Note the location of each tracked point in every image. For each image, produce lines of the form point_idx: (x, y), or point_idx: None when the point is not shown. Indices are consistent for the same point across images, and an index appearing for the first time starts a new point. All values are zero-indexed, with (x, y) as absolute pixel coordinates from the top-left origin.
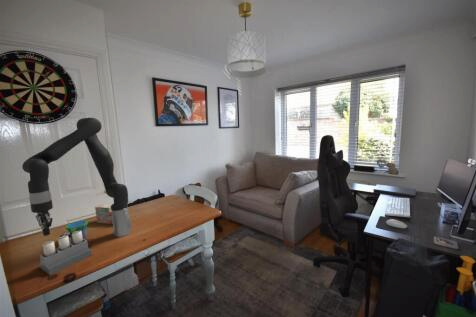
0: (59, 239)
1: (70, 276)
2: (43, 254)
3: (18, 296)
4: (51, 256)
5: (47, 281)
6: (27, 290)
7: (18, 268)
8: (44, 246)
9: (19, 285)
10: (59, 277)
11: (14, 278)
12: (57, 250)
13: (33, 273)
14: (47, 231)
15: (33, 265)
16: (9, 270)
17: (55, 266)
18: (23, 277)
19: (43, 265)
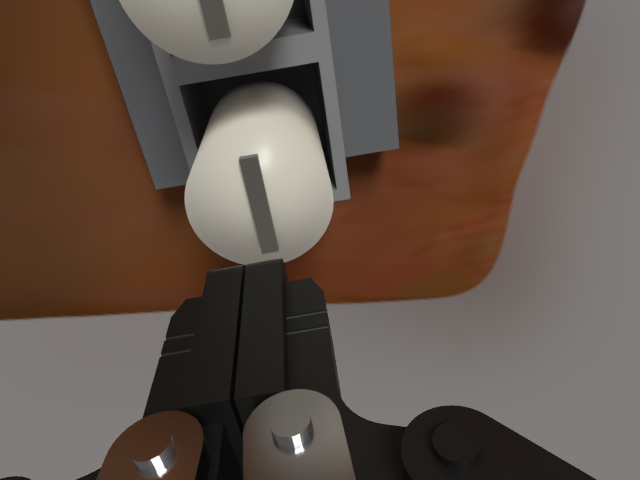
0: (243, 44)
1: (577, 11)
2: None
3: (469, 288)
4: (341, 137)
5: (465, 155)
6: (451, 253)
7: (46, 276)
8: (304, 245)
9: (337, 280)
10: (497, 81)
11: None
12: (241, 60)
13: None
14: (333, 354)
15: (78, 198)
16: (33, 316)
17: (394, 97)
18: None
19: None
